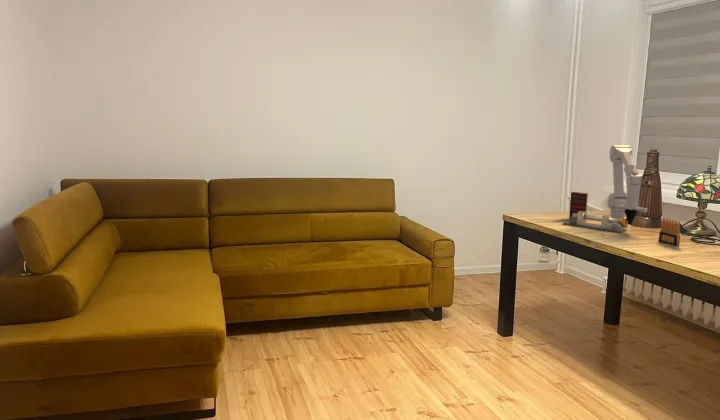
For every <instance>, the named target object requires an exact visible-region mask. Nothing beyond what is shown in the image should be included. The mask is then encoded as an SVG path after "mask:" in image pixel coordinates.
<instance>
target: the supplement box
mask: <svg viewBox="0 0 720 420" xmlns="http://www.w3.org/2000/svg"><path fill="white" fill-rule="evenodd" d="M588 197H589V193H588V192H582V191H581V192H580V191H572V192H570V203H569V216H568V219H569V220H570V219H571V220H570V221H577V218H574V217H573V213H577V214H578V212H580V211H585V212H587V209H588Z"/></svg>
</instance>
